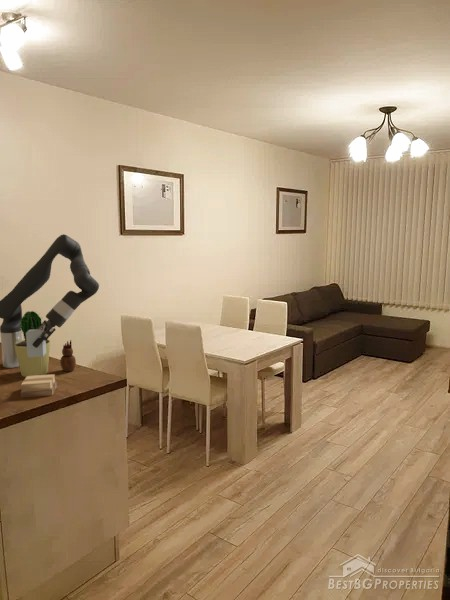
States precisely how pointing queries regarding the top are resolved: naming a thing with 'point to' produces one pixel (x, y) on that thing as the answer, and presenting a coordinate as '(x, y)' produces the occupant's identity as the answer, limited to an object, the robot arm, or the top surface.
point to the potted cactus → (26, 363)
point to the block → (30, 339)
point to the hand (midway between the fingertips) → (32, 344)
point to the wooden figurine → (67, 358)
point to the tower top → (38, 382)
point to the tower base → (39, 392)
